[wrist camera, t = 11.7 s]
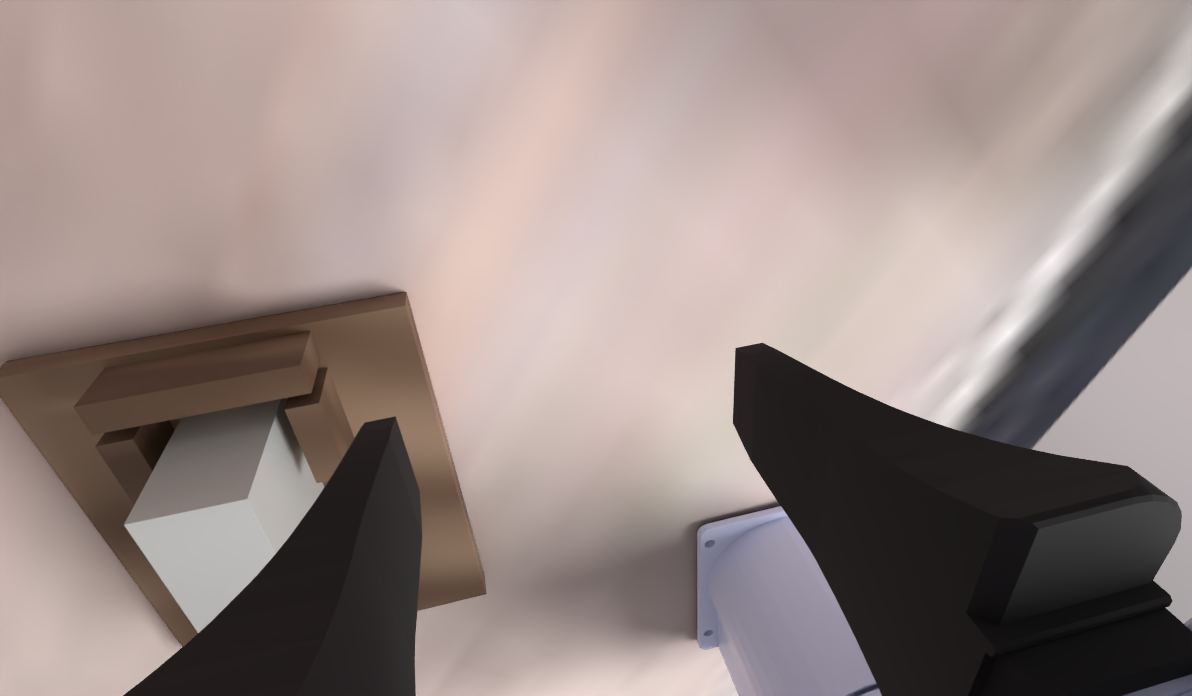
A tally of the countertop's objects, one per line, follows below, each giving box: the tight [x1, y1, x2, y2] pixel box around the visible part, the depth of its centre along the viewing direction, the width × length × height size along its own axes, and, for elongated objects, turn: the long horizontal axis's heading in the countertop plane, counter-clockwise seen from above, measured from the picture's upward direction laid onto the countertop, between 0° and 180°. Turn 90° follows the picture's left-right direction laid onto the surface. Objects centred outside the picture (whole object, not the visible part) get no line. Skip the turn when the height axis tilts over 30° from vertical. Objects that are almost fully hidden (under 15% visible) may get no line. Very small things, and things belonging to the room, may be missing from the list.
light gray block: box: [124, 398, 324, 633], centre depth 21 cm, size 10×3×5 cm, turn 5°
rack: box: [0, 292, 486, 647], centre depth 23 cm, size 14×12×3 cm
